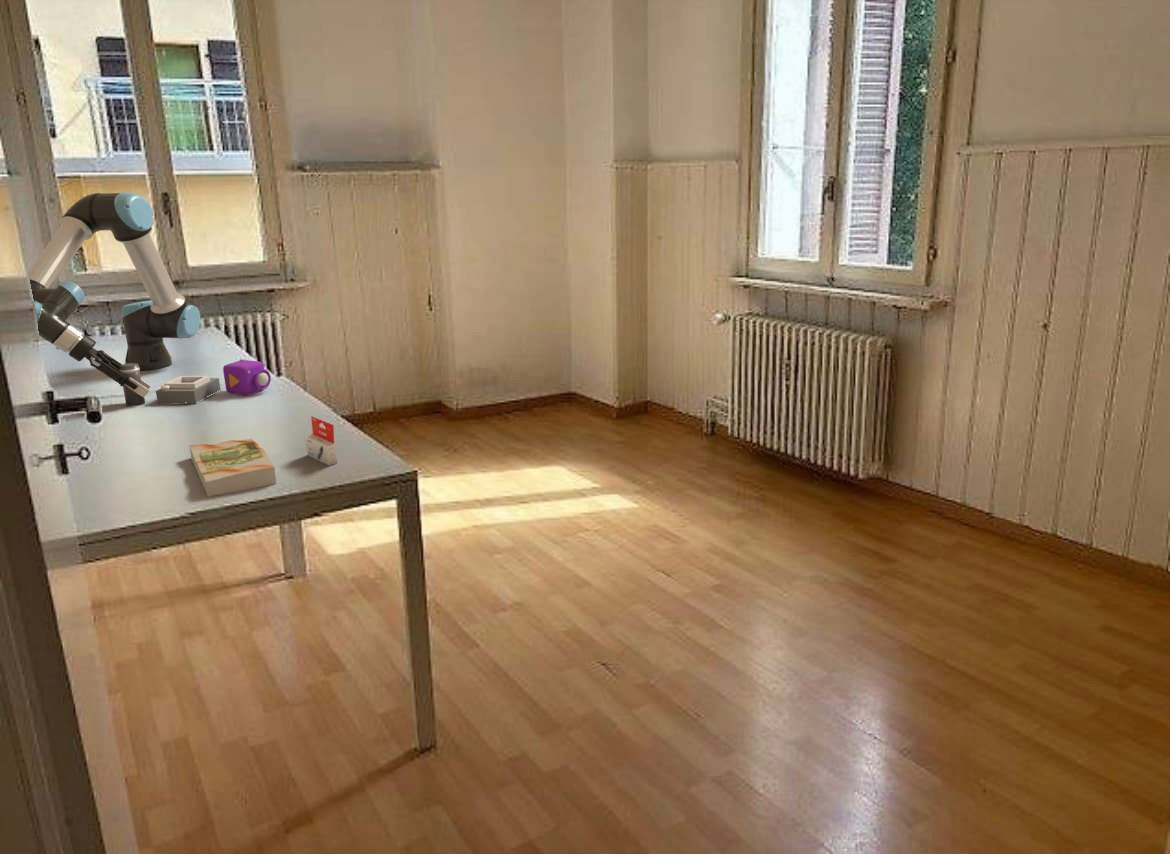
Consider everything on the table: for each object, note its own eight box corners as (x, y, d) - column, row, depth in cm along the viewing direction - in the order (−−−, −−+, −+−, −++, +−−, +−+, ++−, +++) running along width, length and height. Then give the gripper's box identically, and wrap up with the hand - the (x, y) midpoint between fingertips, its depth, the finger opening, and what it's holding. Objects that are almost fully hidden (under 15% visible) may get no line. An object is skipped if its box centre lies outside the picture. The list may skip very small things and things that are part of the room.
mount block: (184, 390, 278) (181, 373, 276) (220, 390, 277) (218, 373, 276) (157, 403, 263) (154, 386, 261) (196, 403, 262) (193, 386, 260)
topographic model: (276, 485, 196) (273, 464, 195) (208, 498, 189) (204, 476, 188) (253, 449, 221) (250, 430, 219) (191, 459, 214) (188, 440, 212)
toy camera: (261, 397, 268) (257, 366, 265) (221, 395, 271) (217, 364, 268) (279, 388, 278) (276, 358, 275) (241, 387, 281) (237, 357, 278)
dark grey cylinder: (132, 401, 266) (125, 363, 262) (148, 401, 266) (142, 363, 262) (122, 406, 261) (115, 367, 257) (139, 406, 261) (132, 367, 257)
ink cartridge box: (328, 466, 207) (324, 427, 204) (306, 455, 214) (302, 417, 211) (338, 463, 208) (334, 424, 206) (315, 453, 216) (311, 415, 213)
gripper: (71, 347, 261) (141, 394, 271) (62, 359, 245) (136, 408, 255) (88, 328, 261) (157, 375, 272) (80, 339, 245) (153, 389, 256)
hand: (147, 391), depth 264 cm, fingers closed on dark grey cylinder, 5 cm apart
